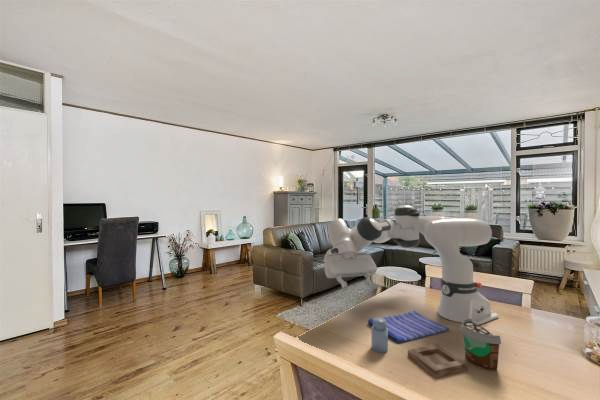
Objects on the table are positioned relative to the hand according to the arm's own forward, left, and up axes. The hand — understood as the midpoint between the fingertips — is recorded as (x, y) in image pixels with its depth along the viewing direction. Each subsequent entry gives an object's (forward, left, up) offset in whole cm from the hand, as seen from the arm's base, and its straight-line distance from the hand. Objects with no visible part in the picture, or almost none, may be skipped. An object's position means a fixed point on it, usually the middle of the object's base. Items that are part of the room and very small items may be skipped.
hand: (356, 286), depth 105 cm
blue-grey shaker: (0, +14, -16) cm, 21 cm away
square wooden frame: (-11, +26, -16) cm, 33 cm away
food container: (-22, +29, -16) cm, 40 cm away
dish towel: (-18, +4, -16) cm, 25 cm away
